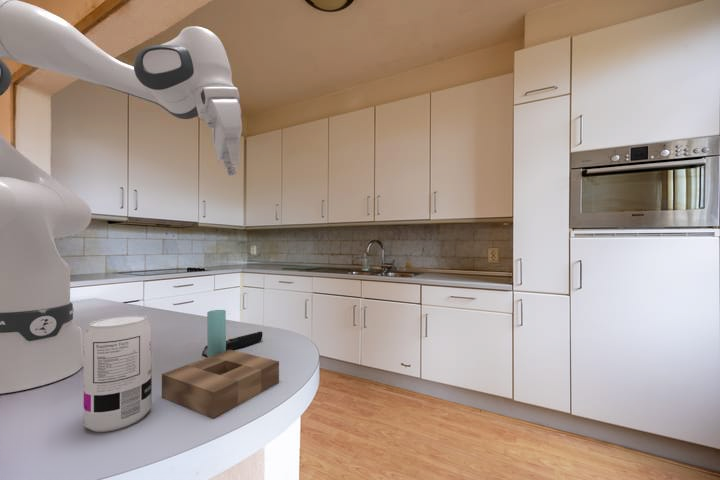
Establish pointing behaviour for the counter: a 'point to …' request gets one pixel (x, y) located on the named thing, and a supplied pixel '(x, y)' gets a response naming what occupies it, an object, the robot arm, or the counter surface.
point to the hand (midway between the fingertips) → (234, 169)
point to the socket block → (219, 381)
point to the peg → (216, 332)
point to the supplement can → (117, 372)
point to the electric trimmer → (239, 342)
